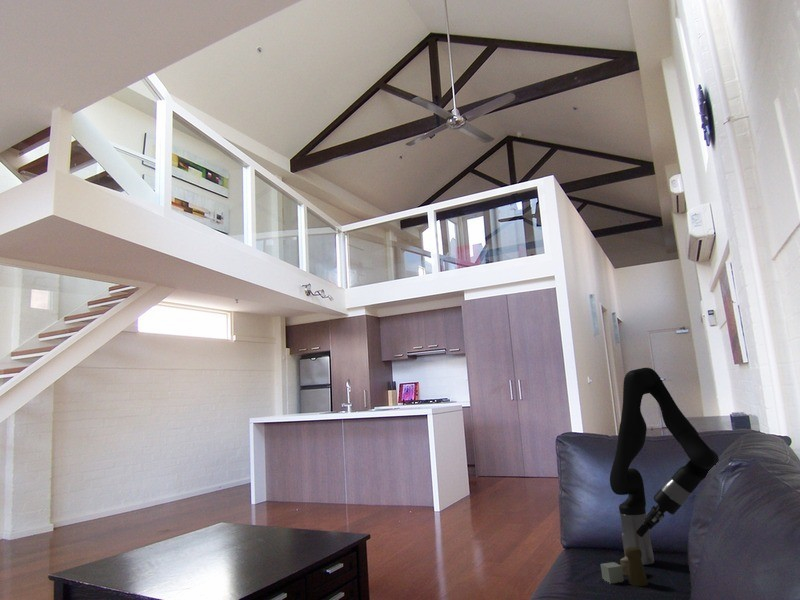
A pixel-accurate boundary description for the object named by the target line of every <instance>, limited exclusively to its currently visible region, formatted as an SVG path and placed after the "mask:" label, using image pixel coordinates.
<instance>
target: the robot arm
mask: <svg viewBox="0 0 800 600" xmlns="http://www.w3.org/2000/svg"><path fill="white" fill-rule="evenodd" d="M622 384H623V385H622V386H623V388H622V390H623V392H622V408H621V416H620V423H619V429H618V437H617V444H616V449H615V455H614V459H613V463H612V467H611V470H610V474H609V485H610V488H611V489H610V490H611V491H612V492H613V493H614V494H615V495H619V496H625V495H626V496H627V498H626V500H624V501H623V502H622V503H620V504H619V505H618V510H619V516H620V521H621V528H622V532H621V539H622V541H621V542H622V546H623V547H622V548H623V551H624V552H623V553H624V557H625V556H626V555H625V550H626V548H628V547H637V548H639V549H640V550H641V552H642V557H641V561H642V564H643V566H644V565H645V566H646V565H648V566H649V565H652V564H655V558H654V552H653V545H652V540H651V535H650V534H651V533H650V530H652V528H654V527H655V526H656V525H657V524H658V523H660V522H661V521H662V520H663V519H664V518H665V513H666V512H667V513H669V514H670V515H675V514H676V513H677V512H678V511H679V510H680V508H681V507H682V506H683V505H684V504H685V502H687V500H688V498H689V497H690V495H691V494H692V493H693V492H694V491H695V490H696V488H698V486H699V484H700V483H701V482H702V481H704V480H705V478H707V477H706V475H707V473H708V471H709V470H710V469H711V468H712V467H713V466H714V465H716V463H717V462H718V461H719V460H720V459H719V455H718V453H717V452H716V451H715V450H713V449H711V448H710V447H709V446H708V444H706V442H705V441H704V440H703V439H702V437H701V436H700V434H699V433H698V431H697V430H696V428H695V427H694V425H692V423H691V422H690V421H689V420H688V418H687V417H686V416H685V415H684V413H683V412H682V411H681V410H680V408H679V406H678V405H677V404H676V402H675V400H674V399H673V396H672V395H671V393H670V392H669V390H668V388H667V387H666V385H665V384H664V382H663V380H662V379H661V377H660V375H659V374H658V373H657V371H655V370H654V369H653V368H651V367H641V368H637V369H631V370H629V371H627V373H626V374H625V375H624V378H623V383H622ZM647 394H650V395H651V396H652V397H653V398H654V400H655V401H656V402H657V404H658V406H659V408H660V413H661V417H662V420H663V422H664V425H665V427H666V428H667V430H668V431H669V432H670V433H671V435H672V436H673V438H674V439H675V440H676V441H677V442H678V443H679V444H680V446H681V448H682V449H683V451H684V452H685V454H686V455H687V457H688V459H689V461H688V462H687V463H686V464H685V465H683V466H681V467H680V468H678V469H677V470H676V471H675V472H674V474H673V475H672V476H671V477H670V478H669V479H668V480H667V481H666V482H665V483H664V484H663V485H662V486H661V488H660V489H659V490H658V491H657V492H656V493H655V495H654V496H653V501H654V502H655V503H656V504H657V505H656V506H655V505H653V506H652V507H651V508H650V511H649V512H648V513H646V505H647V503H646V502H647V501H646V493H645V484H644V480H643V477H642V475H641V472H640V471H639V470H638V469H636V468H633V467H632V468H630V466H631V463H632V462H633V460H634V459H635V458H636V456H638V455H639V453H640V452H641V451H642V449H643V447H644V445H645V443H646V435H647V428H648V427H647V423H646V421H645V417H644V416H643V414H642V411H641V407H642V400H643V396H644V395H647ZM718 463H719V462H718Z"/></svg>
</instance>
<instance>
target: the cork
mask: <svg viewBox="0 0 800 600" xmlns="http://www.w3.org/2000/svg"><path fill="white" fill-rule="evenodd" d="M625 555H626V557H627V558H628V576H627V577H628V584H629V585H630V584H631V586H633V585H634V586H633V587H646V586H648V585H649V581H648V577H647V574H646V572H645V568H644V565H643V564H642V561H641V557H642V552H641V550H640V549H639V548H637V547H628V548H626V550H625V554H624V556H625Z"/></svg>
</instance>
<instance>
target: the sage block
mask: <svg viewBox="0 0 800 600" xmlns="http://www.w3.org/2000/svg"><path fill="white" fill-rule="evenodd" d="M600 571H601V578H602V580H603V579H604V580H603V581H604V582H606V581H607V582H606V583H608V582H609V583H608V584H610V585H611V583H612V584H617V583H618V582H619V583H624V582H625V577H624V575H623V571H622V566H621V564H618V563H617V562H614V561H613V562H612V561H611V562H605V563H600ZM623 581H624V582H623Z"/></svg>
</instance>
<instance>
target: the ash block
mask: <svg viewBox="0 0 800 600" xmlns="http://www.w3.org/2000/svg"><path fill="white" fill-rule="evenodd" d="M619 563H620V565H621V566H622V571H623V574H625V575H624V576H627V575H628V558H627V557H626V556H625V555H624V557H622V558H621V559H619Z"/></svg>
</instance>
